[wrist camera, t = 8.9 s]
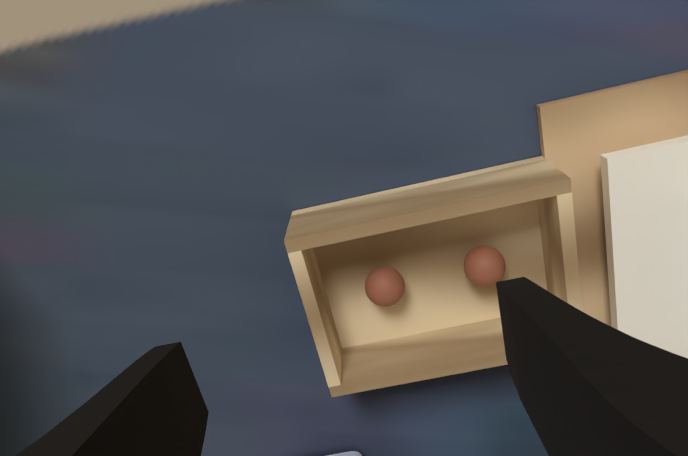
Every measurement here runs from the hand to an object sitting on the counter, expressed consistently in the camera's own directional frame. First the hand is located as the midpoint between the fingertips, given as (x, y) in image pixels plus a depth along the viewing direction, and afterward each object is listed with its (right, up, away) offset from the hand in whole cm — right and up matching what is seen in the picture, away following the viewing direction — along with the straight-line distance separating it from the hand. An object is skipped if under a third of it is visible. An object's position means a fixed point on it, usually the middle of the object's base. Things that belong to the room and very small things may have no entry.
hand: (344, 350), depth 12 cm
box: (+4, +1, +11) cm, 11 cm away
